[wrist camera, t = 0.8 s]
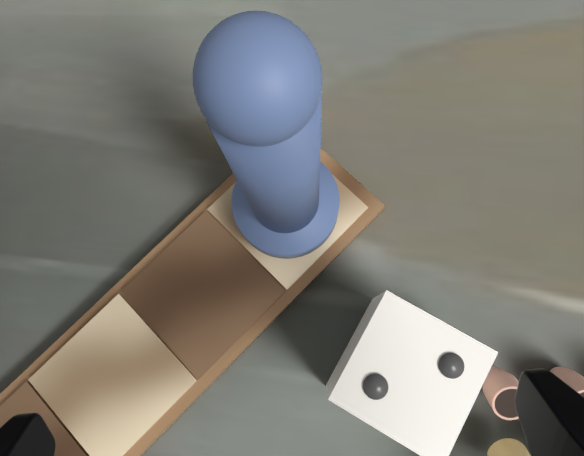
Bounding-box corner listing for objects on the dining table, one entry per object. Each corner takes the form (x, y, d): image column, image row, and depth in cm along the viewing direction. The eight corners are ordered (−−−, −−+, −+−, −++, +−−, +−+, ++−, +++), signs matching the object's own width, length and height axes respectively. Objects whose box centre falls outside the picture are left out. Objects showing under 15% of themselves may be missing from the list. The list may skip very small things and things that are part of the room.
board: (383, 209, 23) (385, 204, 22) (10, 587, 20) (-2, 598, 19) (290, 124, 24) (289, 117, 23) (-74, 470, 21) (-89, 475, 20)
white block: (460, 348, 21) (499, 352, 17) (415, 440, 21) (442, 469, 16) (372, 298, 22) (386, 289, 18) (325, 385, 21) (328, 399, 17)
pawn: (359, 207, 22) (419, 37, 9) (286, 280, 21) (246, 204, 9) (287, 141, 23) (252, -96, 10) (215, 209, 22) (85, 47, 10)
